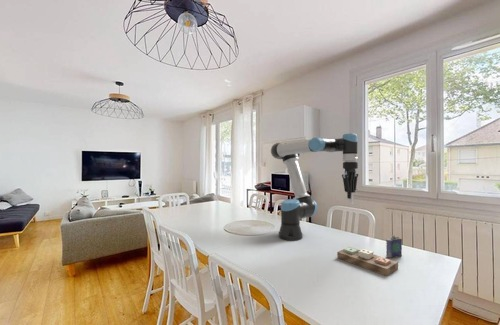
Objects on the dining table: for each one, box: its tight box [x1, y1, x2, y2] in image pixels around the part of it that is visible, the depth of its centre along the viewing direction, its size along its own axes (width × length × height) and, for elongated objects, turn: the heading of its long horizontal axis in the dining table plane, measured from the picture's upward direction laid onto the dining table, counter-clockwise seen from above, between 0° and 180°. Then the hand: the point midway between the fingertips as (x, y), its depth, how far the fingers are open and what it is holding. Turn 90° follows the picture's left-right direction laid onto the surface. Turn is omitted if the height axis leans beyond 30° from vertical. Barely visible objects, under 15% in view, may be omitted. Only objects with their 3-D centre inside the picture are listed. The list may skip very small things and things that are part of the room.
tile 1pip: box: [343, 246, 359, 255], centre depth 114 cm, size 4×4×3 cm
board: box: [336, 246, 399, 277], centre depth 108 cm, size 23×11×3 cm, turn 36°
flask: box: [385, 234, 403, 259], centre depth 116 cm, size 9×3×11 cm, turn 109°
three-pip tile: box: [375, 256, 392, 266], centre depth 102 cm, size 4×4×3 cm
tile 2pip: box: [359, 248, 374, 260], centre depth 108 cm, size 4×4×3 cm
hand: (350, 204), depth 127 cm, fingers closed
